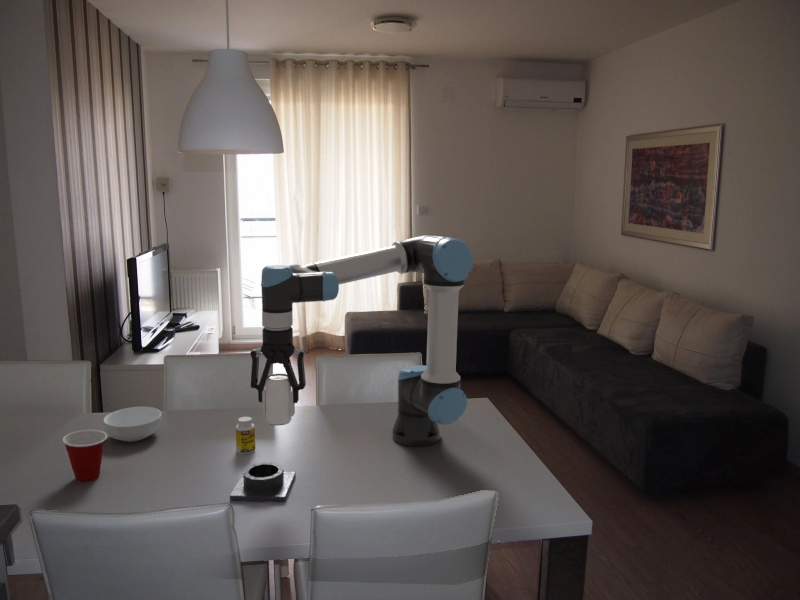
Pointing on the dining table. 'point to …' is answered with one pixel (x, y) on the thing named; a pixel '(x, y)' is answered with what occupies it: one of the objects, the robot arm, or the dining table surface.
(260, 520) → the dining table surface
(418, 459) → the dining table surface
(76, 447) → the plastic cup
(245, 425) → the supplement bottle
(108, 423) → the cereal bowl
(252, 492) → the socket
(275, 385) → the can
